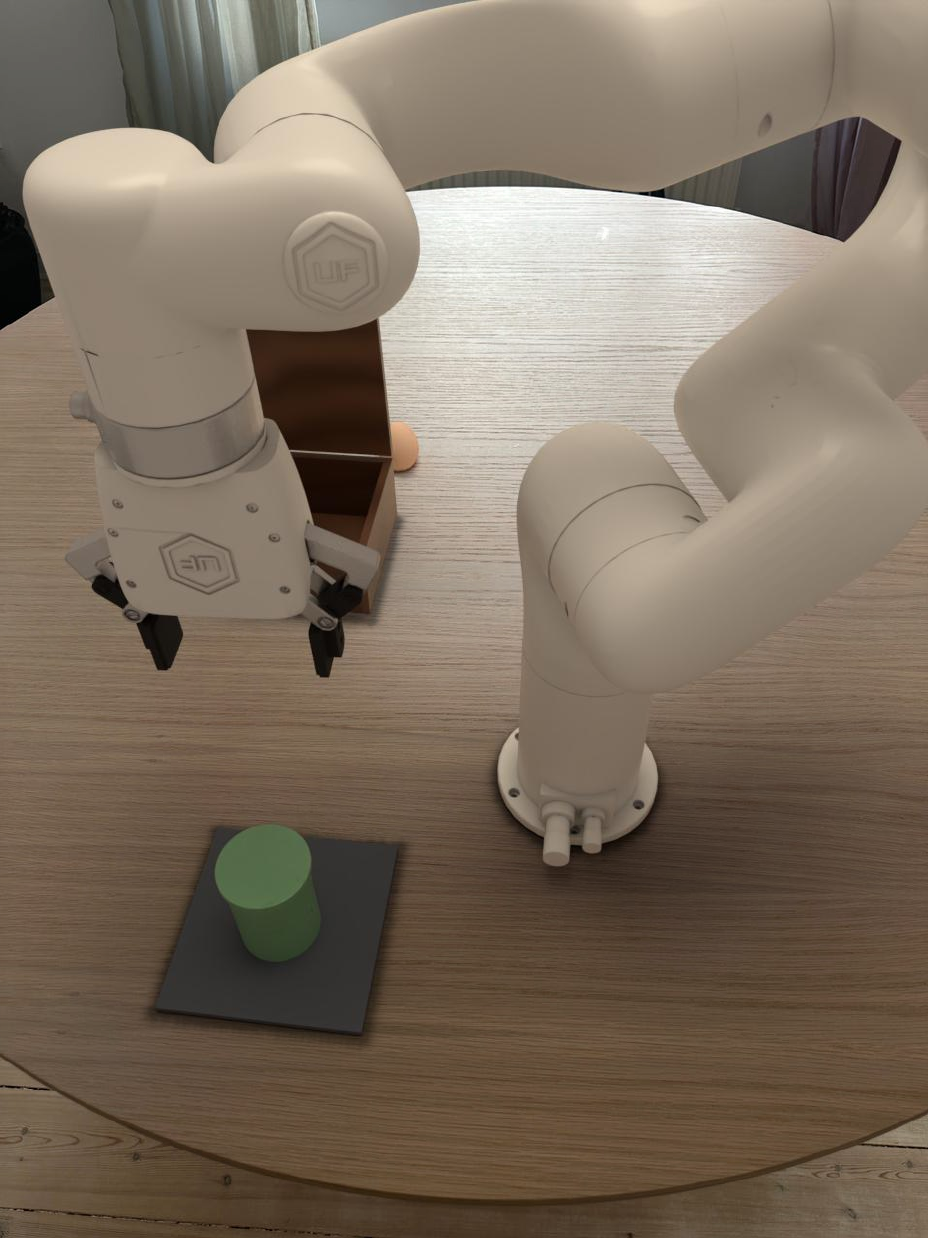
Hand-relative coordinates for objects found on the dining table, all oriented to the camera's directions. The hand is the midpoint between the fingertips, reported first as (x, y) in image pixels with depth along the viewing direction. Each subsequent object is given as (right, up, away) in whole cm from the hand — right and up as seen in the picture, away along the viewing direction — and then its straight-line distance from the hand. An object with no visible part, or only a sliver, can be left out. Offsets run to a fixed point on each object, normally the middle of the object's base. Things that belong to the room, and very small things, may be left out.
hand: (249, 656), depth 59 cm
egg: (+6, +19, +48) cm, 52 cm away
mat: (0, -20, +10) cm, 22 cm away
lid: (-2, +23, +31) cm, 39 cm away
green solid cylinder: (0, -19, +10) cm, 22 cm away
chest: (-2, +8, +38) cm, 39 cm away
